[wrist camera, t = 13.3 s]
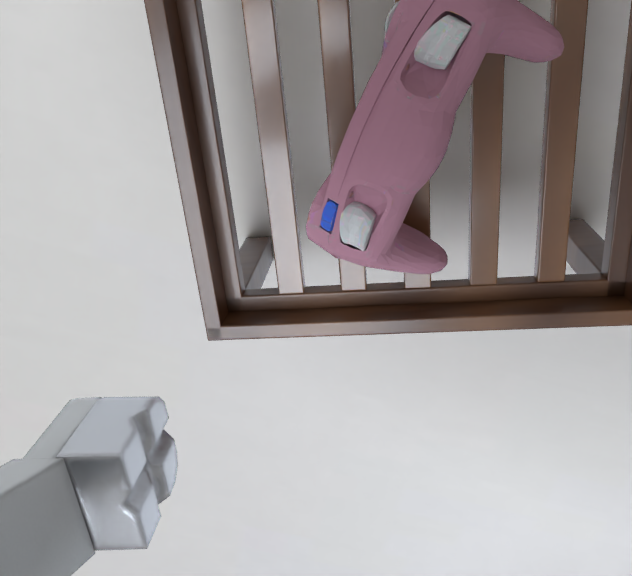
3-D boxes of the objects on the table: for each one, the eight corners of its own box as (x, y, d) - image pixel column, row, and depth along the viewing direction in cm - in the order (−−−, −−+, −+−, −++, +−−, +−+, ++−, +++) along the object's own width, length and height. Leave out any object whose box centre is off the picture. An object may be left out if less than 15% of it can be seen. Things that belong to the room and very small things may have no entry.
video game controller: (462, -14, 22) (385, -74, 16) (580, 33, 20) (543, -13, 14) (354, 223, 26) (261, 246, 20) (444, 278, 24) (372, 321, 18)
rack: (614, -114, 25) (817, -223, 14) (581, 243, 32) (698, 375, 20) (201, -64, 27) (72, -122, 16) (249, 261, 34) (183, 388, 22)
